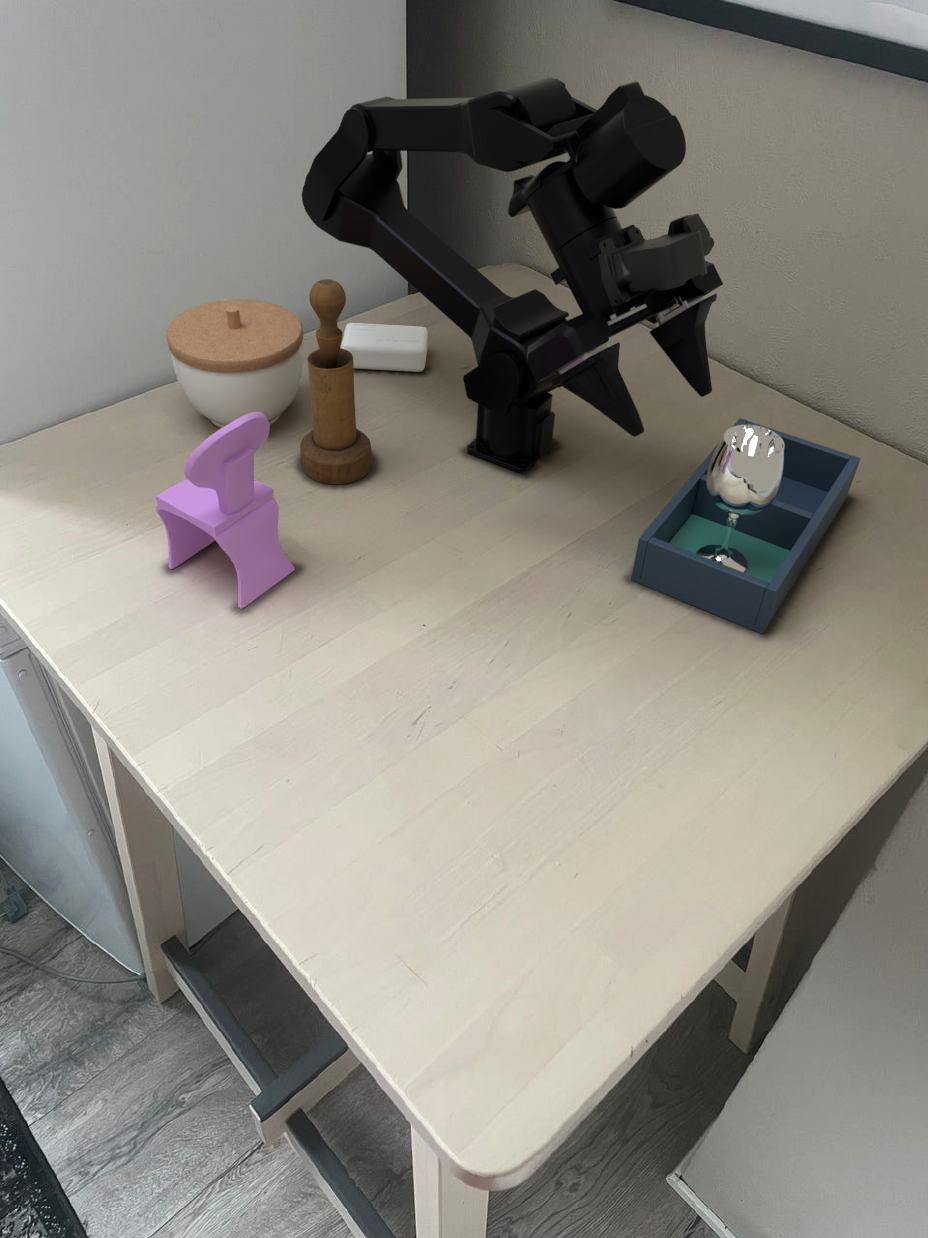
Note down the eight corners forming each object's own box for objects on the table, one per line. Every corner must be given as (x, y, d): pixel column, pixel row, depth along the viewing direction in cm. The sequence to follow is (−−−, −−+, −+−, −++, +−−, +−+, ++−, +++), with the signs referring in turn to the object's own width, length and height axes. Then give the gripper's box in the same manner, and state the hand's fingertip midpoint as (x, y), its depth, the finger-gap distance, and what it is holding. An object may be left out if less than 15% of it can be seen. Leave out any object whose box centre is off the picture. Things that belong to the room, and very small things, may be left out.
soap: (428, 349, 114) (428, 324, 112) (424, 374, 110) (425, 348, 108) (346, 345, 114) (345, 319, 112) (340, 369, 110) (339, 344, 108)
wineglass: (746, 591, 84) (783, 469, 76) (679, 570, 86) (708, 449, 78) (762, 552, 88) (798, 432, 80) (697, 533, 90) (726, 413, 82)
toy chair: (228, 523, 89) (205, 368, 79) (303, 563, 86) (290, 406, 76) (155, 571, 84) (120, 412, 74) (232, 616, 81) (207, 455, 71)
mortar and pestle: (288, 473, 95) (271, 289, 83) (321, 439, 100) (309, 258, 87) (352, 491, 94) (344, 305, 81) (383, 455, 98) (380, 274, 86)
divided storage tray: (630, 580, 86) (638, 537, 83) (729, 457, 100) (739, 417, 97) (762, 634, 82) (776, 591, 79) (846, 498, 96) (860, 457, 93)
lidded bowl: (196, 457, 97) (178, 350, 89) (168, 392, 105) (150, 289, 97) (325, 432, 101) (318, 328, 93) (288, 371, 109) (279, 271, 101)
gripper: (571, 216, 70) (674, 421, 72) (727, 156, 80) (814, 338, 82) (482, 288, 79) (576, 468, 81) (632, 226, 89) (712, 388, 91)
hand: (674, 413), depth 83 cm, fingers open, 9 cm apart
